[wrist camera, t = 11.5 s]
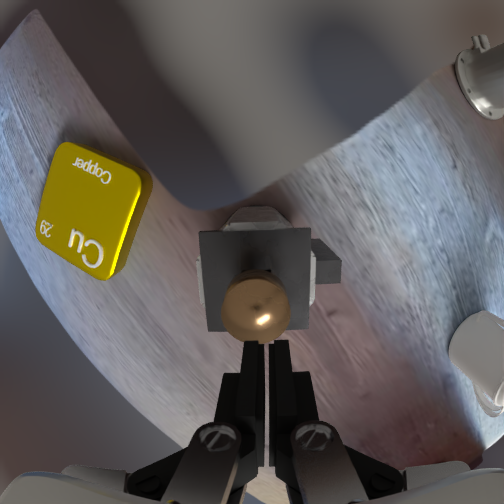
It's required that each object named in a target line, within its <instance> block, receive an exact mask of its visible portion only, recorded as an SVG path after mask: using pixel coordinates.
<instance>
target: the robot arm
mask: <svg viewBox="0 0 504 504" xmlns="http://www.w3.org/2000/svg"><path fill="white" fill-rule="evenodd" d="M471 38H472V41H473V44H474V46H475V48H474V50H470V49H467V50H464V51H462V52H460V53H459V54H458V55H457V58H456V62H455V70H456V75H457V79H458V82H459V85H460V87H461V89H462V92H463V93H464V95H465V97H466V99H467V100H468V102H469V103H470V105H471V106H472V107H473V108H474V109H475V110H476V111H477V112H478V113H479V114H480V115H482V116H483V117H485V118H487V119H490V120H495V119H499V118H501V117H502V116H503V115H504V43H502V44H500V45H497V46H495V47H493V48H491V49H490V44H489V41H488V39H487V36H485V35H479V36H478V37H477V36H472V37H471ZM480 45H481V46H480ZM481 47H482V48H481ZM264 448H265V359H264V344H259V340H253V341H244V347H243V355H242V363H241V371H240V373H224V374H223V378H222V383H221V388H220V393H219V398H218V403H217V408H216V412H215V417H214V422H209V423H207V424H204V425H202V426H201V427H199V428H198V429H197V430H196V432H195V433H194V435H193V437H192V439H191V441H190V443H189V445H188V447H186V448H184V449H182V450H181V451H178V452H176V453H174V454H172V455H170V456H168V457H166V458H164V459H162V460H159V461H157V462H155V463H153V464H151V465H148V466H146V467H144V468H142V469H139V470H137V471H136V472H134V473H127V472H126V470H116V469H105V468H97V467H89V466H82V465H71V466H68V467H66V468H65V469H64V470H63V471H62V473H61V474H58V473H51V472H27V473H24V474H22V475H20V476H18V477H17V478H16V479H15V480H14V481H12V482H11V483H10V485H9V486H8V487H7V488H6V489H5V491H4V492H3V494H2V495H1V496H0V504H242V502H243V499H244V495H245V492H246V488H247V483H248V482H249V481H251V480H252V479H254V478H255V477H257V474H258V467H264ZM271 466H275V474H276V477H278V478H279V479H281V480H282V481H283V482H285V483H286V490H287V494H288V498H289V502H290V504H504V469H499V468H487V469H478V470H470V468H469V466H468V465H467V464H465V463H464V462H461V461H451V462H445V463H439V464H432V465H425V466H417V467H407V468H405V470H400V471H398V470H397V469H395V468H393V467H391V466H389V465H386V464H384V463H382V462H380V461H377V460H375V459H373V458H371V457H368V456H366V455H364V454H362V453H360V452H358V451H356V450H354V449H352V448H350V447H348V446H346V445H344V444H343V442H342V440H341V437H340V435H339V433H338V431H337V430H336V428H335V427H334V426H332V425H331V424H330V423H327V422H324V421H319V417H318V412H317V406H316V401H315V396H314V391H313V386H312V381H311V376H310V372H309V371H305V372H292V365H291V357H290V349H289V341H288V340H274V344H269V467H271Z"/></svg>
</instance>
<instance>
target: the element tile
mask: <svg viewBox="0 0 504 504" xmlns="http://www.w3.org/2000/svg"><path fill="white" fill-rule="evenodd" d="M152 188H153V181H152V178H151V176H150V175H149V174H148V172H146V171H145V170H143V169H141V168H138V167H136V166H134V165H132V164H129V163H127V162H125V161H122V160H120V159H118V158H116V157H113V156H111V155H109V154H106V153H104V152H102V151H99V150H97V149H95V148H92V147H90V146H88V145H85V144H80V143H73V142H64V143H62V144H60V145H59V147H58V148H57V149H56V151H55V154H54V157H53V160H52V163H51V166H50V169H49V173H48V176H47V180H46V183H45V187H44V191H43V195H42V199H41V203H40V207H39V212H38V216H37V221H36V227H35V230H36V237H37V239H38V240H39V242H40V243H41V244H42V245H44V246H45V247H47V248H48V249H50V250H51V251H53V252H54V253H56V254H57V255H59V256H60V257H62V258H63V259H65V260H67V261H68V262H70V263H71V264H73V265H75V266H76V267H78V268H79V269H81V270H83V271H84V272H86V273H88V274H89V275H91V276H93V277H94V278H96V279H98V280H103V281H106V280H108V279H110V278H111V277H113V276H114V275H116V274H117V273H118V272H120V271H121V270H122V269H123V268H124V266H125V264H126V261H127V258H128V255H129V252H130V249H131V246H132V243H133V240H134V237H135V234H136V231H137V228H138V226H139V223H140V220H141V218H142V215H143V212H144V210H145V207H146V205H147V202H148V199H149V197H150V195H151V192H152Z"/></svg>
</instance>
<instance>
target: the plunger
mask: <svg viewBox="0 0 504 504" xmlns="http://www.w3.org/2000/svg"><path fill="white" fill-rule="evenodd" d="M241 271H242V273H240V274H238V275H237V276H236V277H234V278H233V279H232V281H231V282H230V283H229V285H228V287H227V290H226V294H225V297H224V301H223V304H222V308H221V318H222V322H223V325H224V327H225V328H226V330H227V331H228V332H229V333H230V334H231V335H232V336H233V337H234V338H236V339H238V340H240V341H242V342H244V341H253V340H259V344H263V343H267V342H270V341H272V340H274V339H276V338H278V337H279V336H280V335H281V334H282V333H283V332H284V331H285V330H286V328H287V326H288V324H289V321H290V316H291V310H290V305H289V301H288V297H287V292H286V289H285V286H284V284H283V283H282V281H281V280H280V279H279V278H278V277H277V276H276V275H274V274H272V273H271V269H269V270H260V269H252V270H241Z"/></svg>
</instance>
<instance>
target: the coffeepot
mask: <svg viewBox="0 0 504 504" xmlns="http://www.w3.org/2000/svg"><path fill="white" fill-rule="evenodd" d="M497 323H498V324H500V325H501V326H503V327H504V320H502V319H501V318H499V317H497V316H496V315H494V314H492V313H490V312H488V311H485V310H482V311H480V312H478V313H475V314H472V315H471V316H469V317H468V318H466V319H465V320H464V321H463V322H462V323H461V324H460V326H459V327H458V328H457V330H456V331H455V333H454V335H453V337H452V339H451V342H450V345H449V358H450V361H451V362H452V363H453V364H454V365H455V366H456V367H457V368H458V369H459V370H461V371H462V372H463V373H464V374H465V375H466V376H467V377H468V378H469V379H471V380H472V383H473V387H474V391H475V394H476V397H477V400H478V402H479V404H480V406H481V407H482V409H483V410H484V412H485V413H486V414H487V415H489V416H490V417H497V416H499V415H500V414H501V413H502V412H504V329H503V328H501V327H500V326H499V325H498V324H497ZM483 392H485V393H486V394H487V395H488V396H489V397H490V398H491V399H492V400H493V403H494V404H495V405H496V406H495V405H493V404H492V403H491V402H490V401H489V400H488V399H487V398H486V396H485V395H484V393H483ZM497 406H502V407H497ZM501 408H502V410H501V412H500V413H495V412H493V411H498V410H500V409H501ZM490 409H491V410H490ZM492 410H493V411H492Z"/></svg>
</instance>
